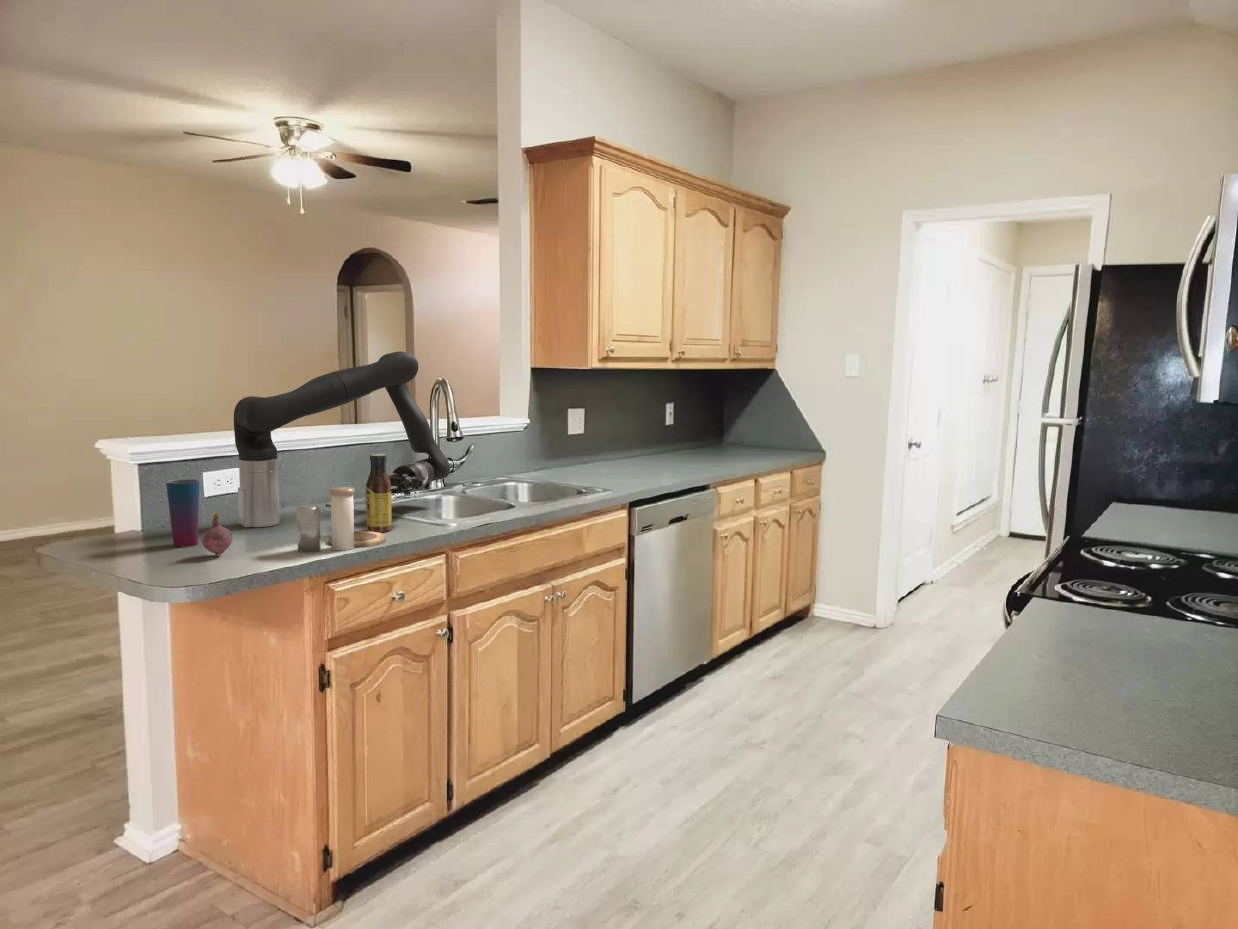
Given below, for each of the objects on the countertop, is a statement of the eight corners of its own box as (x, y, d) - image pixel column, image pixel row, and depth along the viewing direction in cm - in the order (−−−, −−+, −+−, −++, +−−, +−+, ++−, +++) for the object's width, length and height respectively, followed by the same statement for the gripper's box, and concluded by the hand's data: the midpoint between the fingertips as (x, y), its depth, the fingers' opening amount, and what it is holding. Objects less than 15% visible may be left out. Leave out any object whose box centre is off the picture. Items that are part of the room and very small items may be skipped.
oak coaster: (339, 549, 194) (339, 545, 194) (322, 538, 204) (322, 534, 204) (393, 543, 201) (393, 538, 201) (374, 533, 212) (374, 528, 212)
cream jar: (334, 552, 192) (333, 491, 190) (327, 547, 196) (326, 488, 194) (359, 549, 195) (358, 489, 193) (351, 544, 199) (349, 486, 197)
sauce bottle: (369, 528, 217) (368, 452, 215) (393, 528, 218) (393, 452, 215) (364, 533, 211) (362, 455, 208) (389, 533, 212) (388, 455, 209)
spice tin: (301, 553, 189) (300, 510, 188) (294, 549, 193) (293, 506, 192) (323, 551, 192) (322, 508, 191) (316, 546, 196) (315, 504, 195)
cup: (179, 549, 190) (176, 484, 188) (163, 545, 194) (159, 481, 192) (208, 544, 196) (205, 480, 194) (191, 540, 200) (188, 477, 197)
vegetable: (199, 560, 182) (197, 514, 180) (206, 553, 188) (204, 509, 186) (229, 559, 183) (227, 514, 182) (235, 552, 189) (233, 508, 188)
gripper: (385, 462, 234) (359, 470, 218) (434, 464, 232) (411, 472, 216) (386, 489, 235) (360, 498, 219) (434, 491, 233) (412, 501, 217)
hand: (385, 485), depth 217 cm, fingers open, 8 cm apart
